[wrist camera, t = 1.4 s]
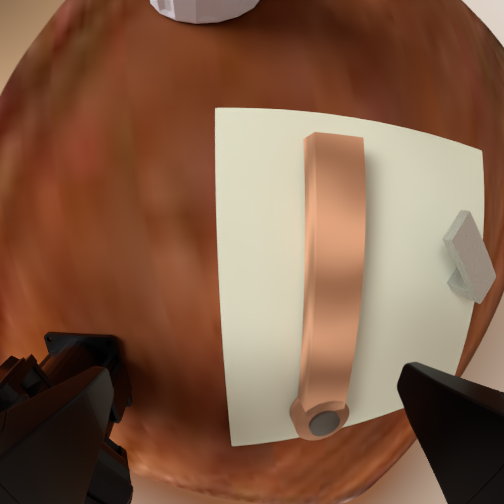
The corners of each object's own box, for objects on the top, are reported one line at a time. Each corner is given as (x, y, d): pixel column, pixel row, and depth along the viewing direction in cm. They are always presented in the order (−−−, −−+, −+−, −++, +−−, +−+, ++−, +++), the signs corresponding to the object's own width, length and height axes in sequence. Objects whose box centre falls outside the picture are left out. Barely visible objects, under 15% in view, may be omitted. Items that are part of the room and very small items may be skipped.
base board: (230, 438, 21) (231, 446, 20) (215, 112, 17) (215, 108, 16) (445, 383, 25) (450, 387, 24) (474, 151, 20) (481, 150, 19)
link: (336, 419, 21) (346, 436, 19) (287, 429, 20) (295, 448, 18) (356, 144, 17) (375, 137, 15) (294, 138, 16) (307, 129, 14)
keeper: (445, 289, 22) (480, 304, 17) (410, 232, 20) (451, 240, 16) (460, 265, 22) (496, 276, 17) (428, 207, 20) (469, 210, 16)
